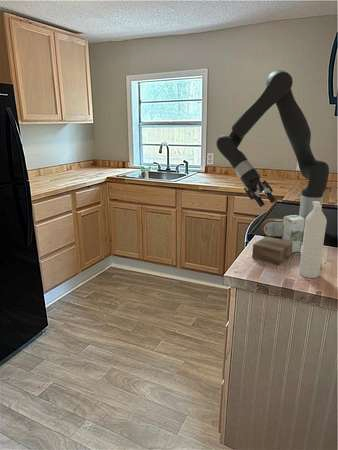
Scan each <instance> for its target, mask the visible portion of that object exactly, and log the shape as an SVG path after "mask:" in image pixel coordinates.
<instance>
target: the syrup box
mask: <svg viewBox="0 0 338 450" xmlns="http://www.w3.org/2000/svg"><path fill="white" fill-rule="evenodd" d="M283 219H284V220H283V229H282V237H280V238H281V239H280V240H283V241H287V242H291V243H293V244H292V253H291V254H294V253H295V254H296V253H300V252H301V251H302V243H303V236H304V232H303V228H304V221H305V219H304V218H302V217H300V216H299V214H298V215H297V214H294V215H293V214H291V215H284V216H283Z"/></svg>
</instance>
